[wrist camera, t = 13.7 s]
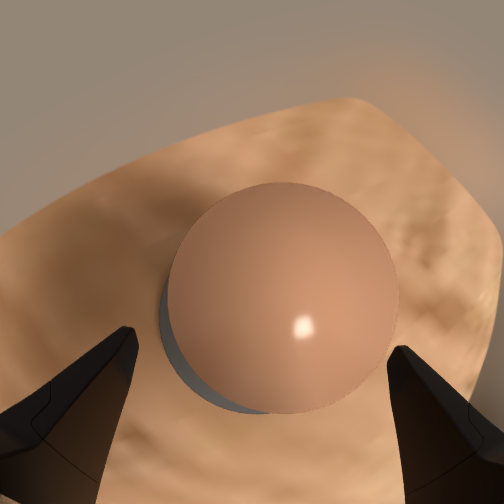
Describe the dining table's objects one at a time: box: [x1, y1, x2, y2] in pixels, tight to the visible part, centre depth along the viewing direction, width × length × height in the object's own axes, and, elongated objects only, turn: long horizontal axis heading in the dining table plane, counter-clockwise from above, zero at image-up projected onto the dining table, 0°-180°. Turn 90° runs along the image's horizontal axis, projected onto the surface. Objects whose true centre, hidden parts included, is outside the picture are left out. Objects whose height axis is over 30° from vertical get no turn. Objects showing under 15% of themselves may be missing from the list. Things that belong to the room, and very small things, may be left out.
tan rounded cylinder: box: [168, 183, 399, 414], centre depth 12 cm, size 5×5×12 cm
